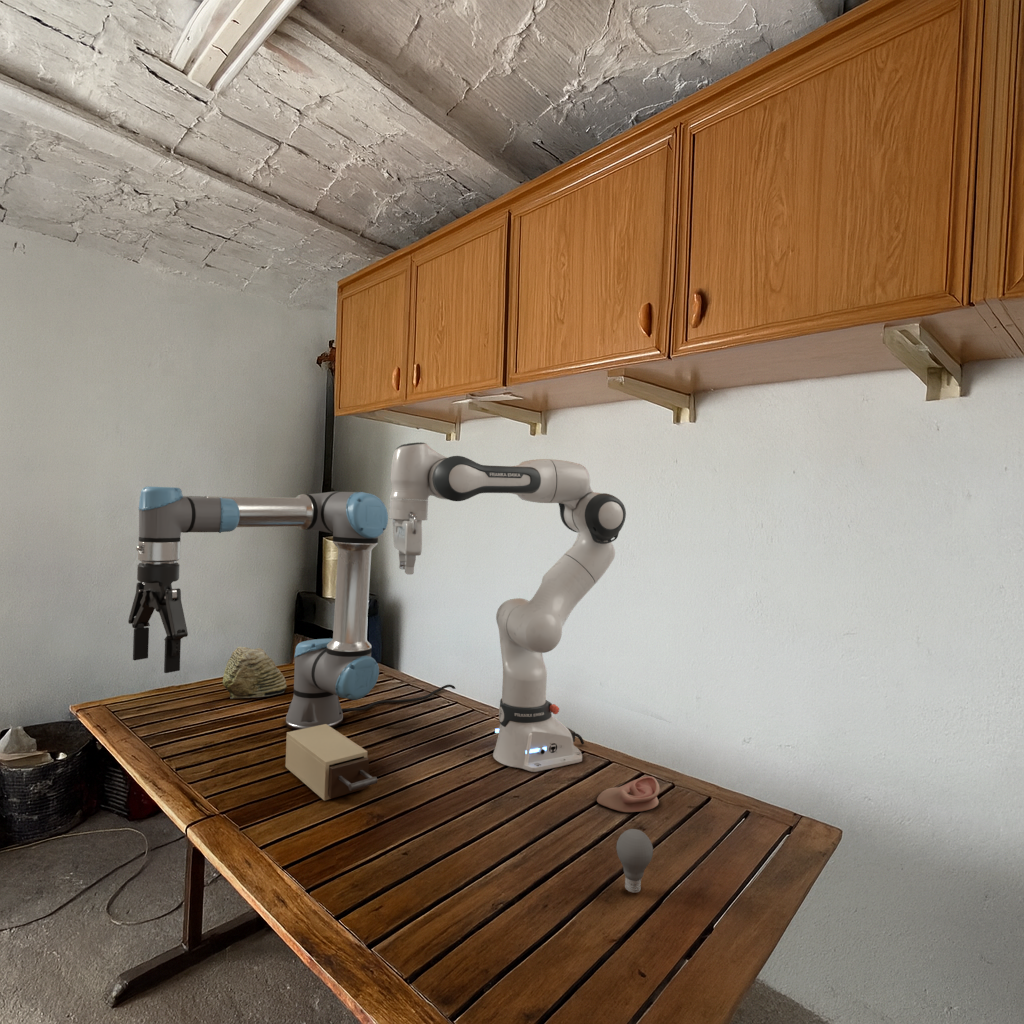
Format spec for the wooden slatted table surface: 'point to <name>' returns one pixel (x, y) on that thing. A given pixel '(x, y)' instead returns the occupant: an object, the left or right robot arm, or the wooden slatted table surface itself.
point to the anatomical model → (632, 795)
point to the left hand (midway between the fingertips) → (155, 665)
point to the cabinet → (318, 755)
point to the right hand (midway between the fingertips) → (406, 571)
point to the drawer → (349, 777)
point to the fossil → (252, 674)
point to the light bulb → (634, 857)
